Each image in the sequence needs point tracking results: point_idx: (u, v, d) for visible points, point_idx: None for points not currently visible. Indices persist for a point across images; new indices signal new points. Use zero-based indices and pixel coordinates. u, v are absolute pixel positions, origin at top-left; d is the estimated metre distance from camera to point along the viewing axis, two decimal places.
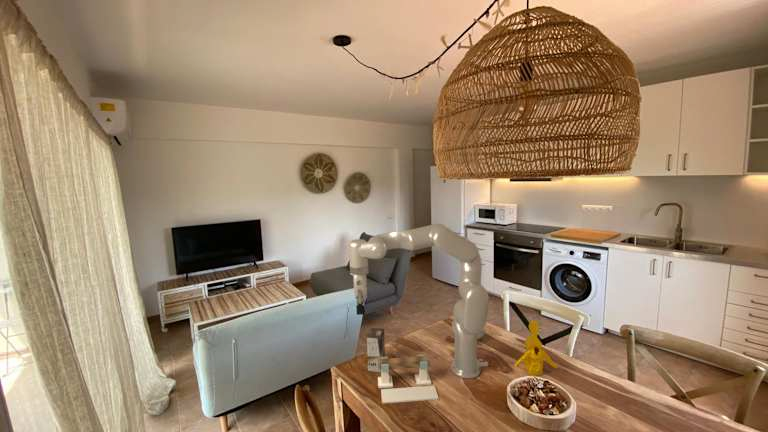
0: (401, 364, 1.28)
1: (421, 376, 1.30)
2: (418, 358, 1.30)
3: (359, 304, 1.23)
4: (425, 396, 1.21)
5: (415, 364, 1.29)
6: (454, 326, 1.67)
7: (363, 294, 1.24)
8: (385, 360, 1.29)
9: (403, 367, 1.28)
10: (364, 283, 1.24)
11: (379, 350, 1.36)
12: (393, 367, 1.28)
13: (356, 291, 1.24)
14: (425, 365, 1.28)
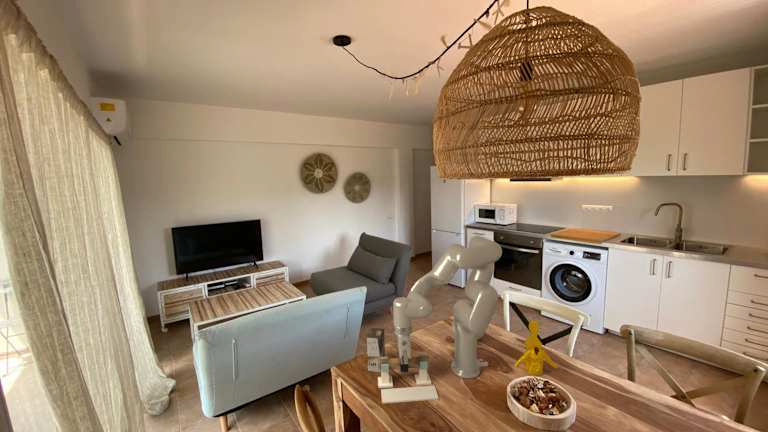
0: None
1: (421, 376, 1.30)
2: (418, 358, 1.30)
3: (404, 363, 1.26)
4: (425, 396, 1.21)
5: (415, 364, 1.29)
6: (454, 326, 1.67)
7: (408, 354, 1.24)
8: (385, 360, 1.29)
9: None
10: (409, 343, 1.24)
11: (379, 350, 1.36)
12: (393, 367, 1.28)
13: (401, 351, 1.24)
14: (425, 365, 1.28)
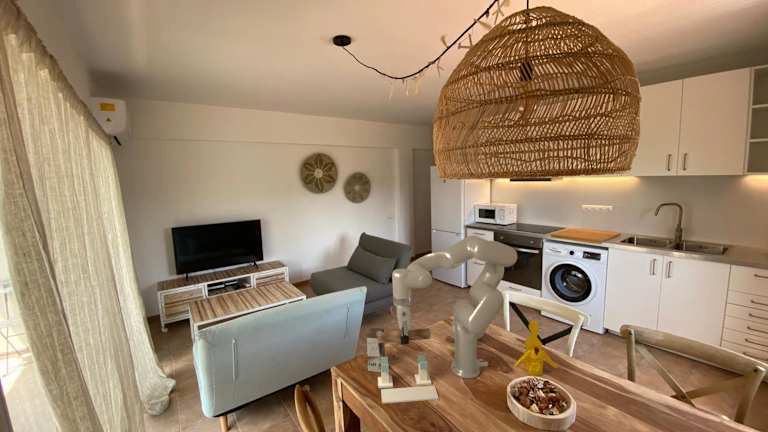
0: None
1: (421, 376, 1.30)
2: (418, 330, 1.28)
3: (404, 335, 1.24)
4: (425, 396, 1.21)
5: (416, 336, 1.27)
6: (454, 326, 1.67)
7: (408, 325, 1.22)
8: (385, 333, 1.28)
9: None
10: (409, 314, 1.22)
11: (379, 350, 1.36)
12: (393, 340, 1.26)
13: (401, 322, 1.22)
14: (425, 365, 1.28)
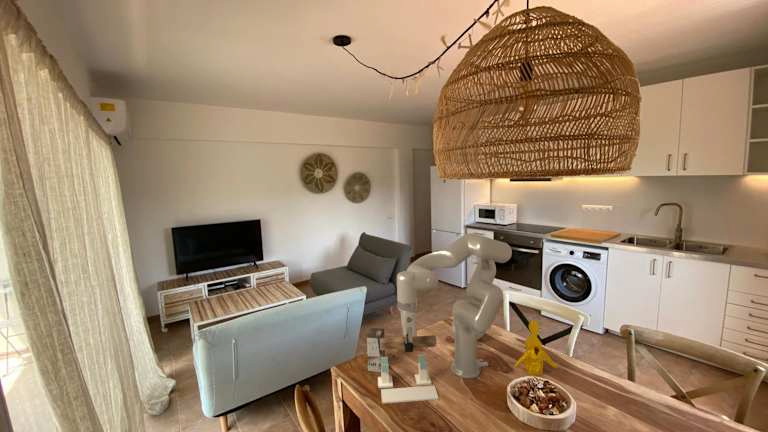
0: None
1: (421, 376, 1.30)
2: (424, 337, 1.20)
3: (408, 342, 1.16)
4: (425, 396, 1.21)
5: (421, 343, 1.19)
6: (454, 326, 1.67)
7: (413, 332, 1.14)
8: (388, 339, 1.19)
9: None
10: (414, 320, 1.14)
11: (379, 350, 1.36)
12: (396, 347, 1.18)
13: (406, 329, 1.14)
14: (425, 365, 1.28)
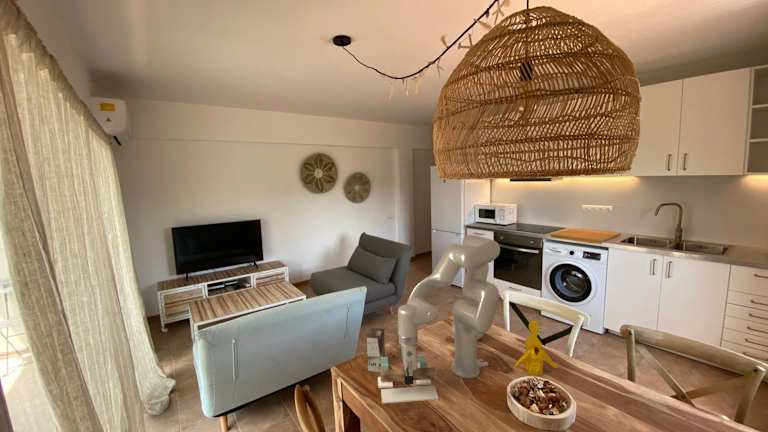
0: None
1: None
2: (423, 369, 1.22)
3: (409, 375, 1.18)
4: (425, 396, 1.21)
5: (421, 376, 1.21)
6: (454, 326, 1.67)
7: (413, 366, 1.16)
8: (388, 371, 1.21)
9: None
10: (415, 354, 1.16)
11: (379, 350, 1.36)
12: (396, 379, 1.20)
13: (406, 362, 1.16)
14: (425, 365, 1.28)
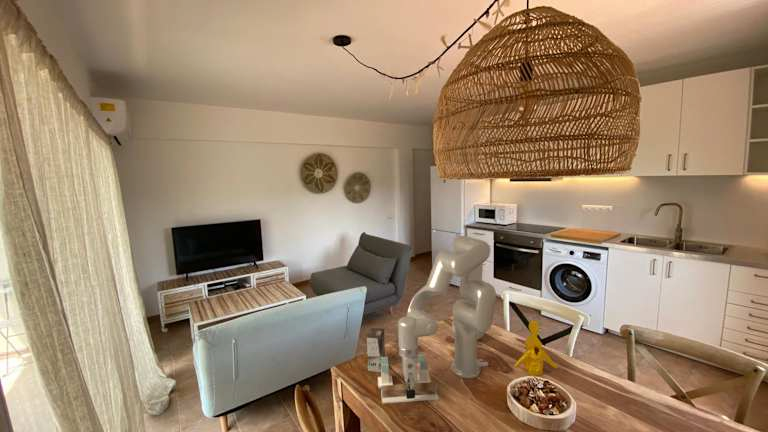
0: None
1: (421, 376, 1.30)
2: (424, 384, 1.23)
3: (410, 389, 1.16)
4: (425, 396, 1.21)
5: (422, 391, 1.22)
6: (454, 326, 1.67)
7: (414, 378, 1.17)
8: (389, 387, 1.23)
9: None
10: (415, 366, 1.16)
11: (379, 350, 1.36)
12: (398, 395, 1.21)
13: (407, 375, 1.16)
14: (425, 365, 1.28)
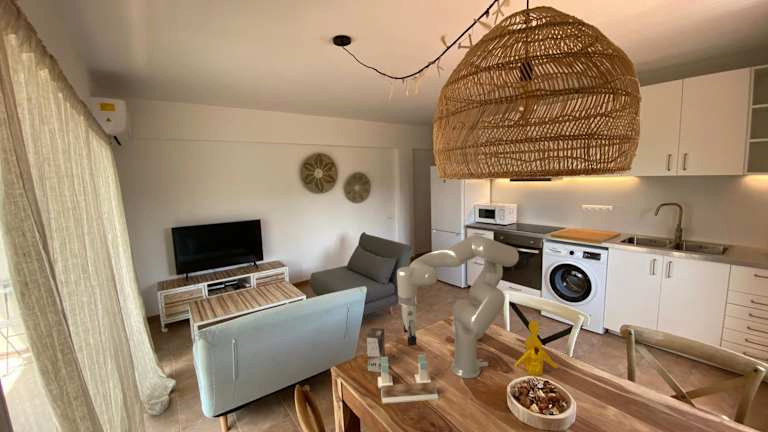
0: (407, 392, 1.22)
1: (421, 376, 1.30)
2: (424, 384, 1.23)
3: (412, 336, 1.18)
4: (425, 396, 1.21)
5: (422, 391, 1.22)
6: (454, 326, 1.67)
7: (415, 325, 1.19)
8: (389, 387, 1.23)
9: (408, 394, 1.22)
10: (415, 313, 1.19)
11: (379, 350, 1.36)
12: (398, 395, 1.21)
13: (407, 322, 1.19)
14: (425, 365, 1.28)
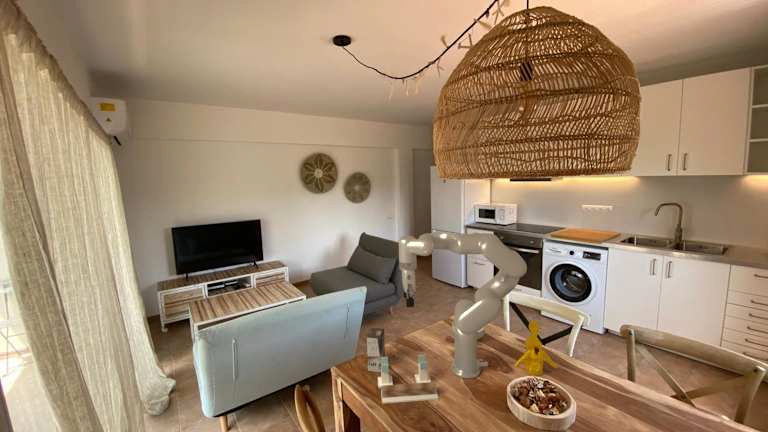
0: (407, 392, 1.22)
1: (421, 376, 1.30)
2: (424, 384, 1.23)
3: (410, 297, 1.30)
4: (425, 396, 1.21)
5: (422, 391, 1.22)
6: (454, 326, 1.67)
7: (413, 288, 1.31)
8: (389, 387, 1.23)
9: (408, 394, 1.22)
10: (414, 277, 1.31)
11: (379, 350, 1.36)
12: (398, 395, 1.21)
13: (406, 285, 1.31)
14: (425, 365, 1.28)
